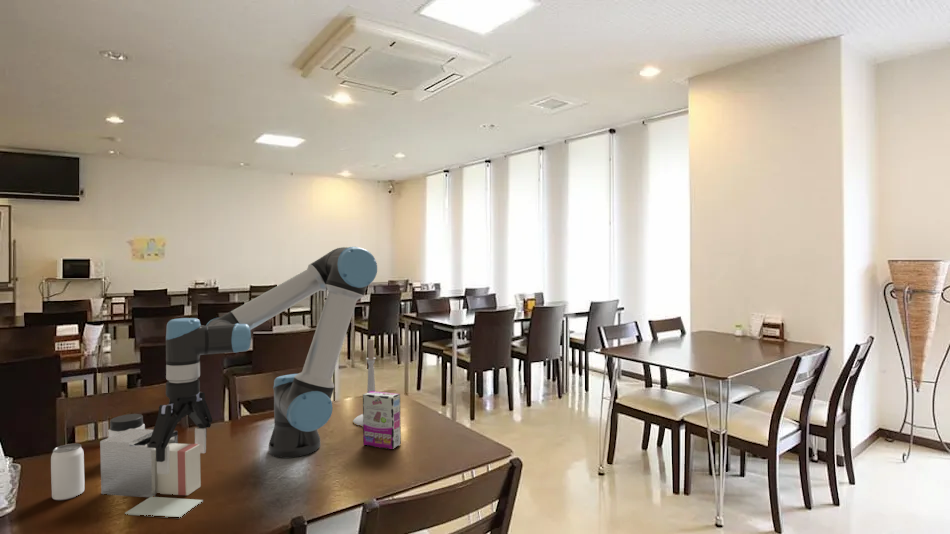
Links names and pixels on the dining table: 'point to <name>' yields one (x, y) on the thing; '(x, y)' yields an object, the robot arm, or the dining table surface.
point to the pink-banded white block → (180, 470)
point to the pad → (164, 507)
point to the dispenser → (129, 463)
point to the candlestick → (371, 380)
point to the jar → (125, 423)
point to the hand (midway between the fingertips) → (182, 462)
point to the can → (67, 471)
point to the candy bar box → (381, 420)
